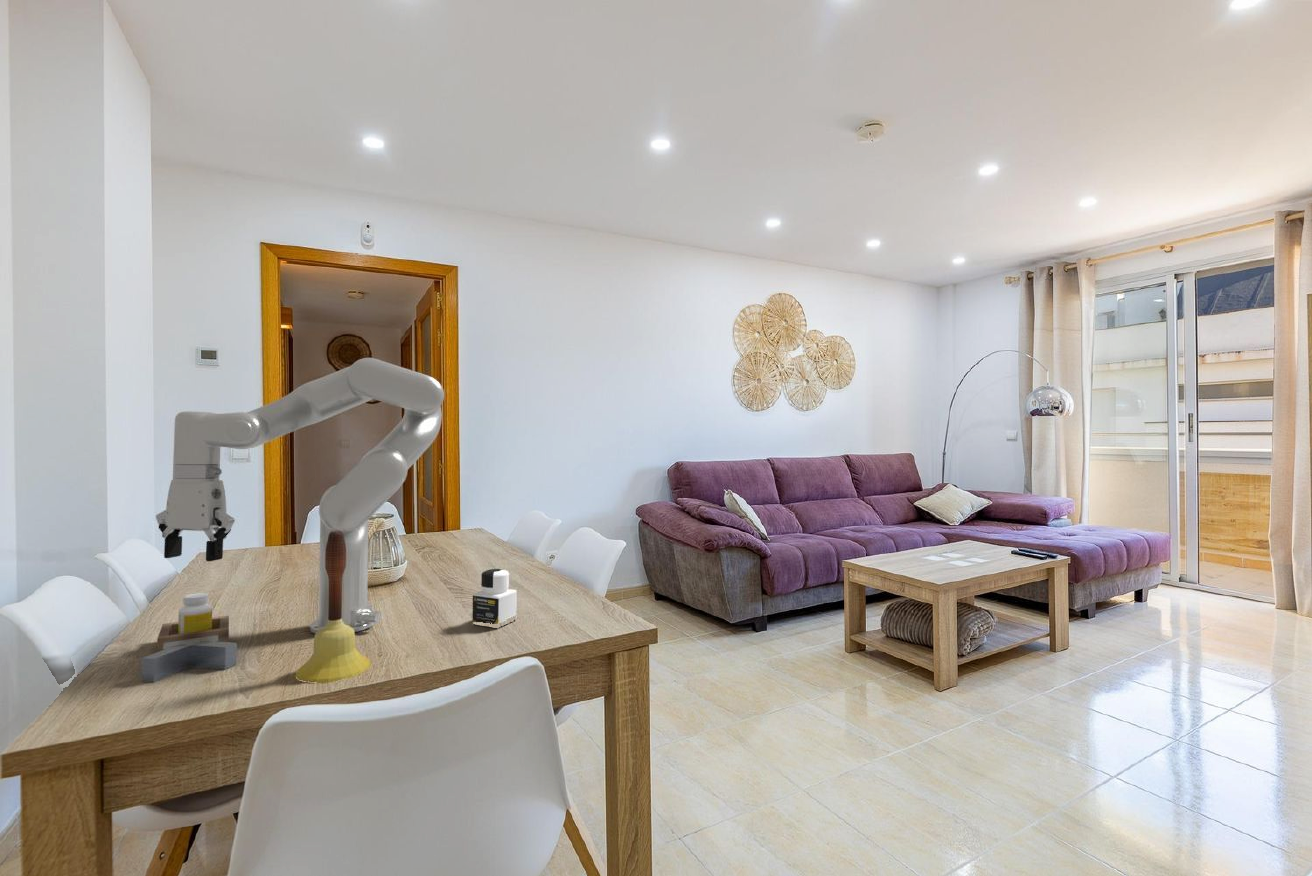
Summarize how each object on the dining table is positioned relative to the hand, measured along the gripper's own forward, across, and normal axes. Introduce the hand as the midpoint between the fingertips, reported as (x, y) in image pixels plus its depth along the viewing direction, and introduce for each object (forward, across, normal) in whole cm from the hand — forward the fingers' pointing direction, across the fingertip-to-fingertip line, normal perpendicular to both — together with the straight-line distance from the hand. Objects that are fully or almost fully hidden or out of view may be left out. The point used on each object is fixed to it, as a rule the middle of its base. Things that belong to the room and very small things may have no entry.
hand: (193, 558), depth 122 cm
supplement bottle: (+17, -1, 0) cm, 17 cm away
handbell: (+17, -37, +6) cm, 41 cm away
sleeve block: (+17, -1, 0) cm, 17 cm away
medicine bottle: (+16, -53, -26) cm, 61 cm away
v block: (+17, -12, +10) cm, 23 cm away
